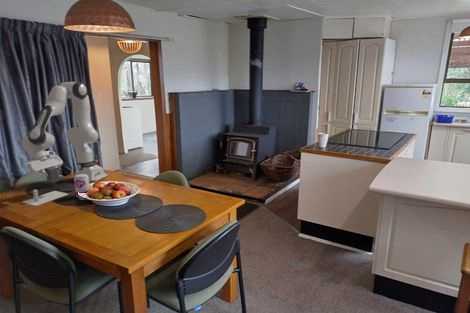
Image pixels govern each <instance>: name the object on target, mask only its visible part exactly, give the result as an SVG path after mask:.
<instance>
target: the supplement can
mask: <svg viewBox="0 0 470 313" xmlns="http://www.w3.org/2000/svg"><path fill="white" fill-rule="evenodd" d="M73 181H74V187H75V196H76V198H78V200H79V201H85V200H86V199H83V198H81V197H80V196H79V195H78V192H79V193H87V192H88V191H89V189H90V190H91V187H90V181H89V178H88V176H87V174H78V173H77V174H76V175H74V178H73Z"/></svg>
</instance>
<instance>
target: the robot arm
mask: <svg viewBox="0 0 470 313" xmlns="http://www.w3.org/2000/svg"><path fill="white" fill-rule="evenodd" d="M68 99H71V100H72V102H73V103H72V112H73V113H72V117H73V118H72V119H73V120H74V122H76V124H77V126H74V127H71V128H68V129H67V130H66V132H65V135H66V138H67V140H68V141H69V142H70V143H71V145H72V146H73V149H74V151H75V156H76V168H77V175H78V174H87V176H88V178H89V182H96V181H99V180H102V179H103V178H105V177H107V176H109V174H108V173H105V169H104V168H103V167H102V166H99V165H98V164H97V163H99V160H98V159H94V156H93V154H94V153H93V150H92V148H91V147H90V146H89V144H93V143H96V142H97V141H98V140H99V134H98V131H97V130H96V129H95V128H94V126H93V123H92V120H91V104H90V98H89V95H88V88H87V86H86V84H84V83H83V82H79V81H66V82H65V81H63V82H60V83H58V84H57V85H54V86H53V87H52V88H51V90H50V92H49V94H48V97H47V99H46V102H45V104H44V106H42V108H41V110H40V111H39V114H38V116H37V118H36V121H35V122H34V125H32V128H31V129H30V130H29V132H28V133H27V135H26V136H24V137H23V139H22V140H21V145H22V147H23V149H24V151H25V152H26V153H27V154H28V155H29V157H30V160H27V161H25V165H26V167H27V168H28V170H29V172H30V173H31V174H32V175H36V174H39V173H41V174H43V175H44V176H45V177H46V178H47V176H49V175H50V174H49V173H46V171H45V169H47V168H50V167H58V168H60V167H63V164H64V162H63V160H62V158H61V157H60V156H59V155H58V154H56V152H55V151H50V150H49V151H47V149H49V148H51V147H53V146H54V145H55V142H56V138H55V136H54V135H53V134H52V133H49V132H48V131H46V128H47V126H48V123H49V121H50V119H51V117H54V116H60V115H62V114H63V112H64V111H65V108H66V105H67V102H68ZM58 173H59V174H60V171H59V170H58Z"/></svg>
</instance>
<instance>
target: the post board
mask: <svg viewBox="0 0 470 313" xmlns="http://www.w3.org/2000/svg"><path fill="white" fill-rule="evenodd" d="M68 195H69V193H67V192H63V191H57V190H53V191H49V192H47V193H44V194H41V195H39V193H38V189H33V190H32V196H33V198H29V199H26V200H23V201H22V204H24V203H25V204H27V205H30V206H31V205H32V206H35V207H36V206H40V205H43V204H45V203H49V202H51V201H53V200H57V199H60V198H62V197H65V196H68Z"/></svg>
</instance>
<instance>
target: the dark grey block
mask: <svg viewBox="0 0 470 313" xmlns="http://www.w3.org/2000/svg"><path fill="white" fill-rule="evenodd" d="M58 171H59V167H50V168H47V169H45V172H46V173H49V174H50V175H49V176H47V177H46V181H47V183H51V184H53V183H56V182H60V175H59V174H60V172H59V173H58Z"/></svg>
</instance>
